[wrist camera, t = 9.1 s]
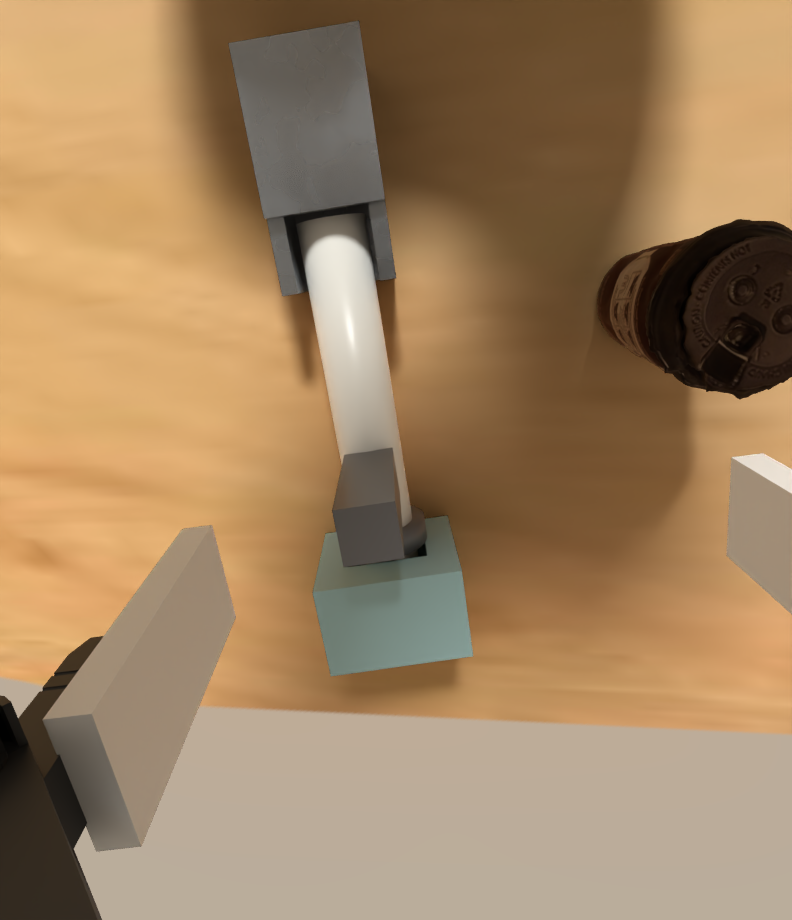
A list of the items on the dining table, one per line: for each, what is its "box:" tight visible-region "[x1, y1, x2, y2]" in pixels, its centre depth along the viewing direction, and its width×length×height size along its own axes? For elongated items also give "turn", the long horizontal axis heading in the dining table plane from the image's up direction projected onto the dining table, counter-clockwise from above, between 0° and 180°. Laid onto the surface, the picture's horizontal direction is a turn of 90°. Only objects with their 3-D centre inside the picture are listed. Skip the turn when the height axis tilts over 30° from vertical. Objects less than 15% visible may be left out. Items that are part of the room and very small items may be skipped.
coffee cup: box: [598, 219, 792, 399], centre depth 34 cm, size 9×8×13 cm
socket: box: [313, 515, 473, 676], centre depth 41 cm, size 6×9×8 cm, turn 99°
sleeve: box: [228, 21, 396, 296], centre depth 34 cm, size 12×6×7 cm, turn 9°
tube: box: [296, 213, 427, 567], centre depth 35 cm, size 25×6×14 cm, turn 9°
